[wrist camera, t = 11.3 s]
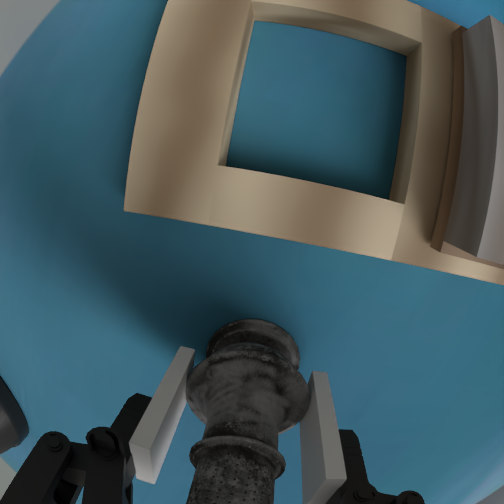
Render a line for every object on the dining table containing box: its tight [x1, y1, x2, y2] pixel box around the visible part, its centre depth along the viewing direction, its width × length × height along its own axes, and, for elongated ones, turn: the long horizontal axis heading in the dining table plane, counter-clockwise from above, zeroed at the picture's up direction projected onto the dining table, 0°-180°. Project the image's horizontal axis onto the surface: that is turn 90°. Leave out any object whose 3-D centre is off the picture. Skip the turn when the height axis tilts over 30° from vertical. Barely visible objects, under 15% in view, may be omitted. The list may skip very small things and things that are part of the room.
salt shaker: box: [186, 319, 310, 504], centre depth 10 cm, size 6×6×12 cm
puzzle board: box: [124, 0, 504, 285], centre depth 11 cm, size 28×13×2 cm, turn 80°
